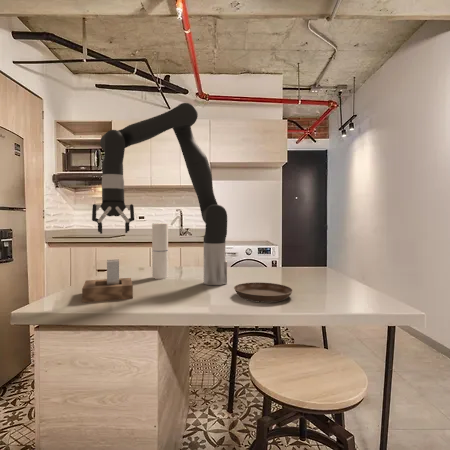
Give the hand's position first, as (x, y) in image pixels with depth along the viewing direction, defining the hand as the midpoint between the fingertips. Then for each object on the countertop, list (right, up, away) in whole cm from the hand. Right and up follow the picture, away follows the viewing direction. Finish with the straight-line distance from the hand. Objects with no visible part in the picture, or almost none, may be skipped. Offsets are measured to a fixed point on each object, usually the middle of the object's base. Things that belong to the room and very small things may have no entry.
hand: (113, 233), depth 114 cm
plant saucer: (+53, -23, -1) cm, 58 cm away
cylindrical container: (+10, -22, +33) cm, 40 cm away
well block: (-2, -22, 0) cm, 22 cm away
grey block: (-2, -22, 0) cm, 22 cm away
